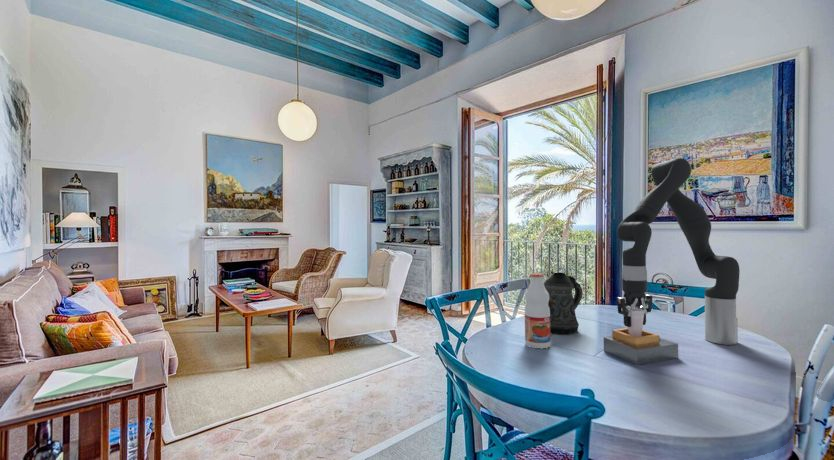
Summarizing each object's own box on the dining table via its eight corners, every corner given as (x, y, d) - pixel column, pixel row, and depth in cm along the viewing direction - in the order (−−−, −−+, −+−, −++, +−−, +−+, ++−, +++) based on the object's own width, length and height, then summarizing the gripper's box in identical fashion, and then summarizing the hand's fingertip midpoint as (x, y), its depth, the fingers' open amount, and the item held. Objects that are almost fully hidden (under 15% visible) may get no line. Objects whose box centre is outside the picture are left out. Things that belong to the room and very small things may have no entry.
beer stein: (531, 329, 156) (530, 273, 156) (552, 320, 169) (551, 269, 169) (568, 337, 144) (567, 277, 144) (587, 327, 157) (586, 272, 157)
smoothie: (649, 339, 120) (648, 298, 120) (628, 338, 122) (627, 298, 121) (641, 333, 127) (640, 295, 126) (621, 332, 128) (620, 294, 128)
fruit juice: (538, 339, 142) (537, 271, 142) (556, 347, 134) (554, 274, 133) (520, 343, 139) (518, 273, 138) (536, 351, 130) (535, 276, 130)
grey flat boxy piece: (648, 343, 135) (647, 323, 135) (684, 356, 121) (684, 334, 121) (603, 350, 129) (603, 329, 129) (637, 365, 116) (636, 340, 116)
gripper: (640, 275, 130) (641, 320, 130) (609, 277, 126) (610, 324, 126) (659, 278, 122) (660, 326, 123) (627, 281, 118) (627, 330, 119)
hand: (634, 325), depth 124 cm, fingers closed on smoothie, 6 cm apart
